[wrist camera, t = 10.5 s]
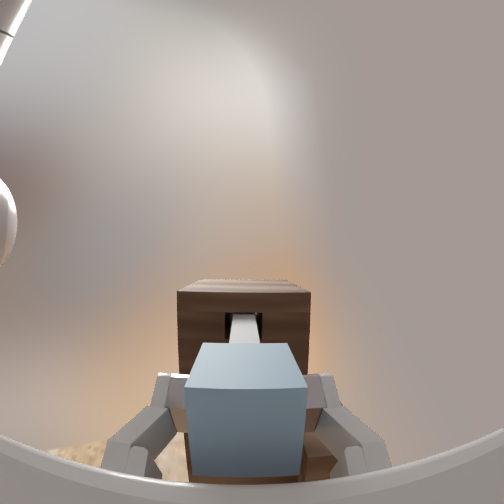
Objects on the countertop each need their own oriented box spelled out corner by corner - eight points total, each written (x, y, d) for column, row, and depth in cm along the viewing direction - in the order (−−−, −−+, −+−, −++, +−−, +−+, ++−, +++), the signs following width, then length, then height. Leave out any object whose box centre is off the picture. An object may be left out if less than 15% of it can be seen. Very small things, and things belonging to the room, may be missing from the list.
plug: (299, 475, 8) (308, 387, 8) (192, 475, 8) (184, 386, 8) (263, 331, 28) (263, 293, 28) (224, 331, 28) (224, 293, 28)
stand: (344, 547, 20) (392, 294, 21) (195, 554, 20) (168, 295, 20) (315, 468, 37) (330, 279, 37) (208, 470, 36) (201, 279, 37)
